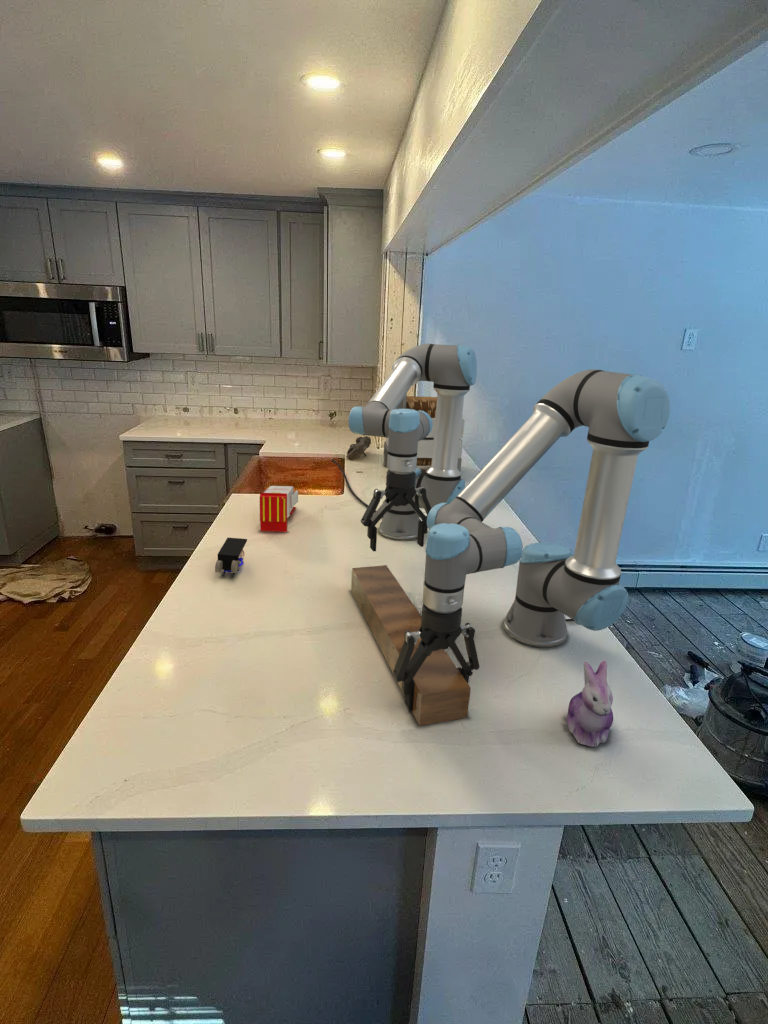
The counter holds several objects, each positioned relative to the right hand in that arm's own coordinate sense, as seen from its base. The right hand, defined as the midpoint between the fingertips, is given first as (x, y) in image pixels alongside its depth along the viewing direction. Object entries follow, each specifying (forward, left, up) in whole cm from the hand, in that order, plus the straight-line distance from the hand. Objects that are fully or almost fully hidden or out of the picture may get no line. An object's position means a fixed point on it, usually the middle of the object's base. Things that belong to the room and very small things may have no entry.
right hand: (433, 702), depth 114 cm
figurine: (-15, +26, -1) cm, 30 cm away
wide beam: (-11, -20, -1) cm, 23 cm away
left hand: (-28, -37, +14) cm, 48 cm away
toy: (-40, -105, -1) cm, 113 cm away
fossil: (-129, -154, -1) cm, 201 cm away
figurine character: (-4, -79, -1) cm, 80 cm away
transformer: (-129, -112, -1) cm, 171 cm away
